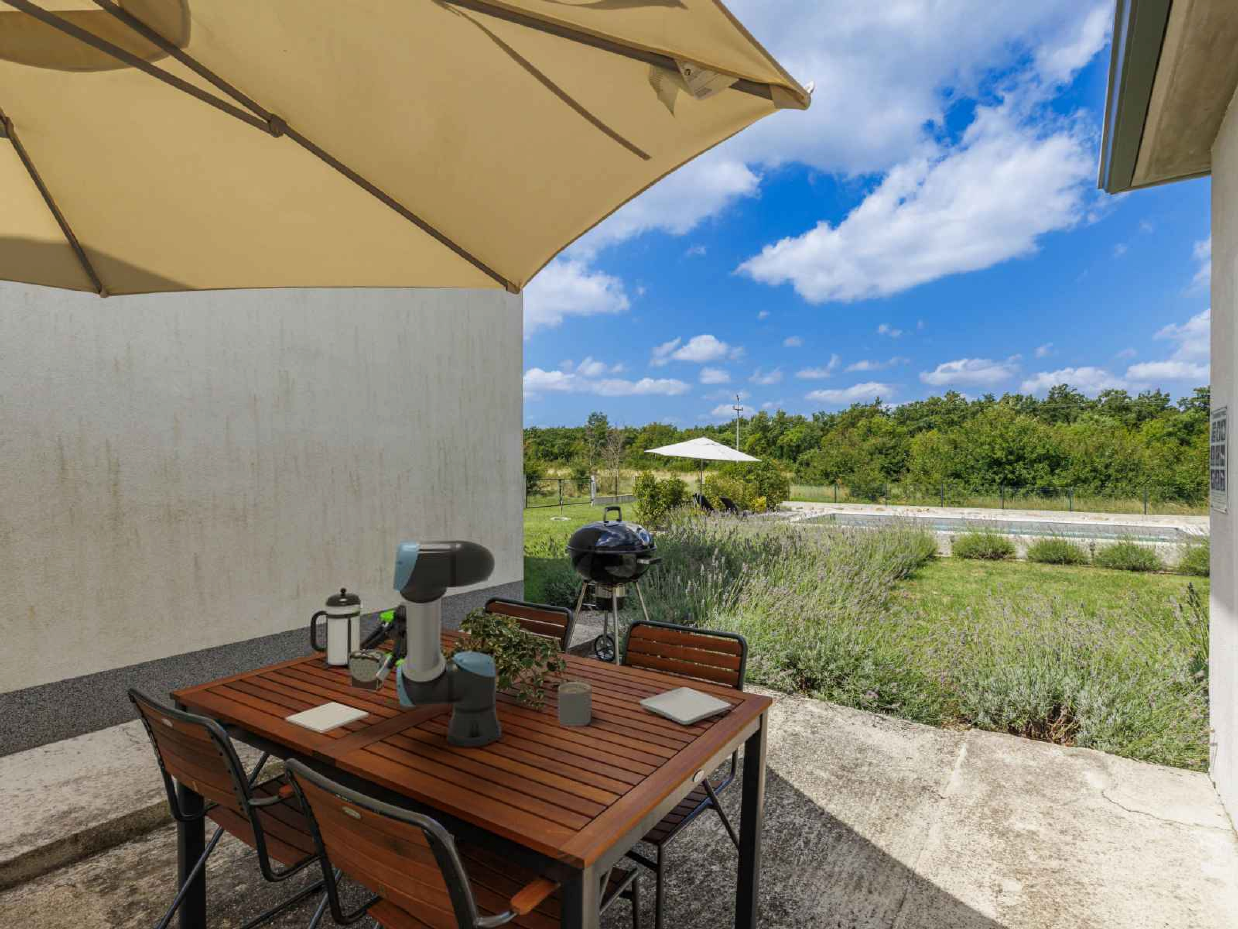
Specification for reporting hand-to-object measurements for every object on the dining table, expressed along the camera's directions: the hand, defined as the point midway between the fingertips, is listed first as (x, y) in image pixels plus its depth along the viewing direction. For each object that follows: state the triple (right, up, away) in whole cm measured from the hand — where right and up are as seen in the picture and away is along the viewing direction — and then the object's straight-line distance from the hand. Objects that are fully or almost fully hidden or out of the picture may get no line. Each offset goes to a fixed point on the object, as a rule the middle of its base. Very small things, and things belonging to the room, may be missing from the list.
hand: (366, 674), depth 188 cm
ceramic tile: (-17, -17, +12) cm, 27 cm away
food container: (+1, -4, +2) cm, 5 cm away
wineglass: (-15, -18, +75) cm, 79 cm away
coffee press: (-36, -18, +66) cm, 77 cm away
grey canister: (+60, -18, +12) cm, 64 cm away
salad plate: (+94, -18, +19) cm, 97 cm away
